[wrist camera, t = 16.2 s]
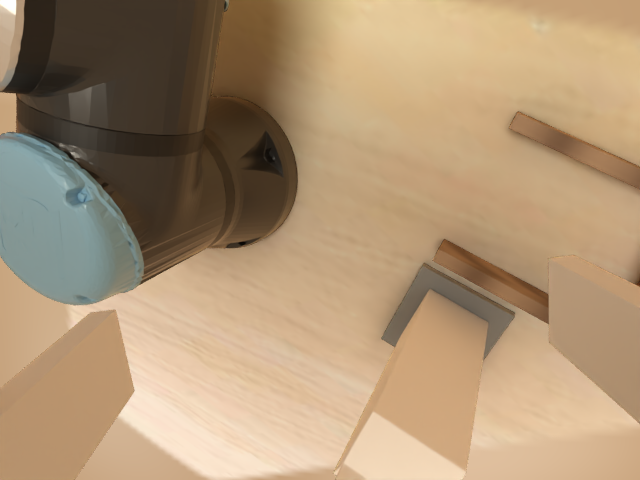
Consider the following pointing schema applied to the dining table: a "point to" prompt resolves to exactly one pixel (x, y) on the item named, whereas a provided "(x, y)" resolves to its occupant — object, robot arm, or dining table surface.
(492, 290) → the rack
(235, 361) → the dining table surface
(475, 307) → the slate pad
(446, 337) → the milk
